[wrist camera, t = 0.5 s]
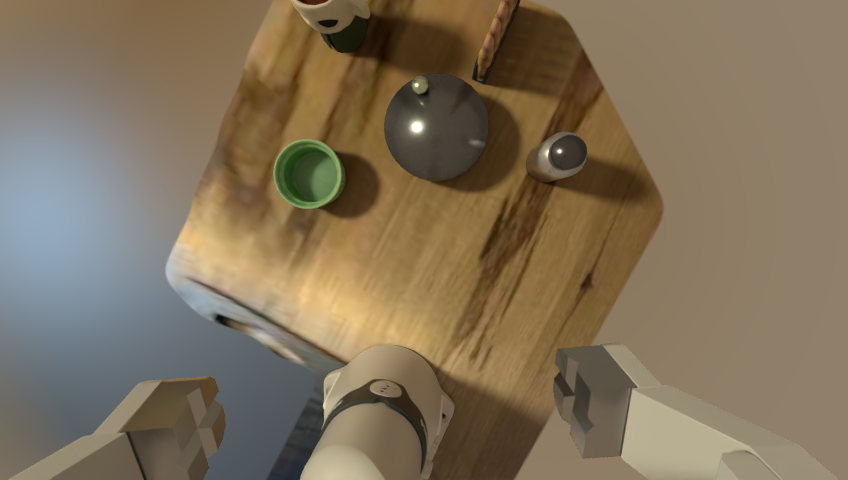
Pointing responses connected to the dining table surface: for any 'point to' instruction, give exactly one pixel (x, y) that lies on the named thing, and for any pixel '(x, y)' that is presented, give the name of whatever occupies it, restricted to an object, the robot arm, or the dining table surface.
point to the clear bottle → (557, 157)
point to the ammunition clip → (494, 39)
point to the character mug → (336, 21)
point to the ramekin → (309, 174)
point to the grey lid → (436, 127)
